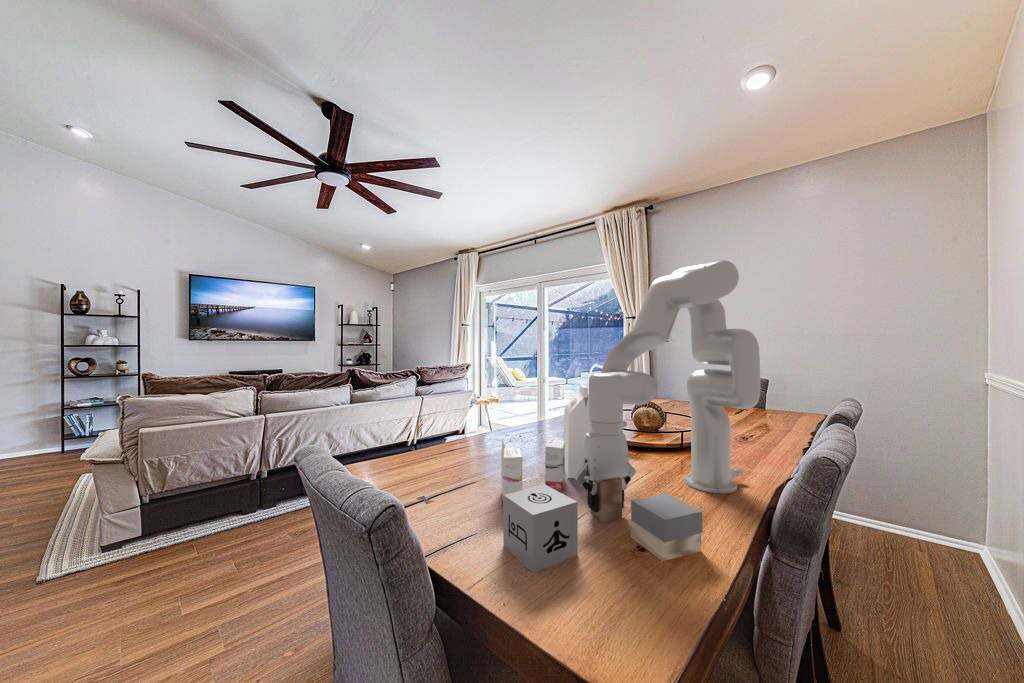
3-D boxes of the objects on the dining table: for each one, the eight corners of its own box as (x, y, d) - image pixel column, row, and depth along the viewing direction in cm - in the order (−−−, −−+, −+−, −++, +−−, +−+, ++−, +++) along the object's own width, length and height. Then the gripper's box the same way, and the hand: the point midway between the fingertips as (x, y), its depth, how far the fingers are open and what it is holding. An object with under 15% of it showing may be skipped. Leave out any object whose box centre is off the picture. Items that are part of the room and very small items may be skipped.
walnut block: (609, 510, 88) (609, 471, 88) (622, 519, 83) (622, 479, 83) (590, 513, 86) (590, 474, 86) (602, 523, 82) (602, 481, 82)
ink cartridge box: (523, 506, 90) (523, 444, 90) (502, 506, 90) (502, 445, 90) (519, 491, 99) (519, 435, 99) (500, 492, 98) (500, 436, 98)
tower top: (666, 512, 79) (666, 493, 79) (702, 532, 70) (702, 511, 70) (631, 520, 75) (631, 500, 75) (664, 542, 67) (664, 519, 67)
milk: (608, 479, 108) (607, 388, 108) (567, 479, 108) (567, 388, 108) (598, 465, 120) (598, 384, 120) (562, 465, 120) (562, 384, 120)
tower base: (666, 531, 79) (666, 512, 79) (701, 554, 70) (701, 532, 70) (630, 538, 76) (630, 519, 76) (662, 563, 67) (662, 541, 67)
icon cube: (503, 546, 72) (503, 494, 72) (545, 532, 78) (544, 484, 78) (533, 573, 64) (533, 515, 64) (577, 556, 69) (577, 501, 69)
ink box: (563, 493, 98) (563, 447, 98) (544, 491, 99) (544, 446, 99) (565, 480, 106) (565, 439, 107) (548, 479, 107) (548, 438, 108)
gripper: (627, 421, 91) (627, 496, 91) (563, 427, 86) (564, 506, 86) (648, 428, 84) (648, 509, 84) (580, 435, 78) (580, 521, 78)
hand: (606, 507), depth 85 cm, fingers open, 5 cm apart
